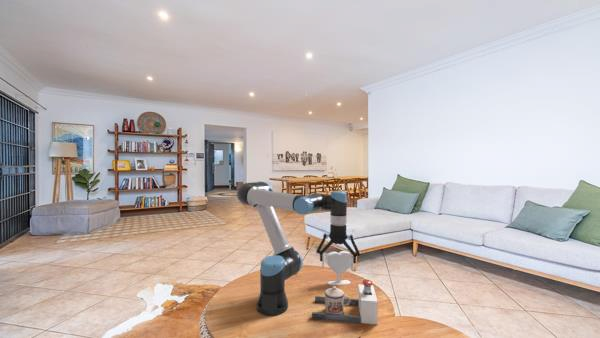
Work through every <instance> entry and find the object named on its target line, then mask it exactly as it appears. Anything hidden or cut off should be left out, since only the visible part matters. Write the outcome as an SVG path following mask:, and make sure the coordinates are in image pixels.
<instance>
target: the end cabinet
mask: <svg viewBox="0 0 600 338" xmlns="http://www.w3.org/2000/svg"><path fill="white" fill-rule="evenodd" d="M357 290H358V295H357V296H358V298H357V299H358V300H359V305H358V311H359V316H361V323H360V324H366V325H367V324H369V325H378V312H379V311H378V309H379V308H378V303H379V302H378V299H377V298H378V297H377V294H376V291H375V288H374V285H373V284H372V285H371V295H364V285H363V284H359V283H358V289H357Z"/></svg>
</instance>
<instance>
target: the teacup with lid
mask: <svg viewBox="0 0 600 338" xmlns="http://www.w3.org/2000/svg"><path fill="white" fill-rule="evenodd" d="M324 297H325V303H324V312H325V313H330V314H342V315H344V307H347V306H350V305H349V303H350V299H351V298H350V297H349V296H348V295H345V292H344V291H343V289H341V288H337V286H336V285H332V287H330V288H329V287H328V288H327V289H326V290H325V291H324ZM344 298H348V302H347V303H346V304H344Z"/></svg>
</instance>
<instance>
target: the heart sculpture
mask: <svg viewBox="0 0 600 338" xmlns="http://www.w3.org/2000/svg"><path fill="white" fill-rule="evenodd" d="M351 261H352V254H351V252H350V251H347V250H341V251H339V252H337V251H330V252H328V253H327V254H325V262H326V264H327V266H328V267H329V269H330V270H332V271H333V272H334V273H336V274H337V277H336V278H337V279H336V280H332V281H330V280H329V281H328V282H327V284H328V285H329V286H336V285H337V286H338V285H350V284H351V281H350V280H348V279H344V280H342V274H344V273H346V272H347V271H348V270H349V269H350V268H351Z"/></svg>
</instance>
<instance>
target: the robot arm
mask: <svg viewBox="0 0 600 338" xmlns="http://www.w3.org/2000/svg"><path fill="white" fill-rule="evenodd" d="M347 195H348V194H347V192H346V191H342V190H332V191H331V192H330V194H323V193H309V195H300V194H299V195H298V194H292V193H287V192H279V191H274V188H273V186H272V185H271V184H270V183H268V182H266V181H255V182H246V183H243V184H241V185H240V186H239V187H237V192H236V197H237V199H238V201H239V202H240V203H242V204H243V205H249V206H253V209H254V210H255V211H256V210H257V213H258V214H259V217H260V219H261V222H262V223H263V227H264V229H265V231H266V234H267V237H268V239H269V242H270V243H271V247H272V249H273V253H272V254H273V255H269V256H267V257H264V258H263V259H261V263H260V269H259V272H260V276H259V277H260V279H259V280H260V281H259V282H260V283H259V284H260V286H259V287H260V292H259V295H258V298H257V301H256V310H257V311H258V313H260V314H262V315H265V316H278V315H280V314H283V313H285V312H286V311H287V310H288V309H289V299H288V297H287V295H286V291H285V284H286V283H285V281H286V280H288V279H290V278H291V277H293V276H295V275H297V274H298V273H299V272H300V271H301V270H302V268H303V263H304V261H303V256H302V255H301V253H300V252H299V251H298V250H295V248H294V246H293V245H290V244H289V242H288V239H287V237H286V234H285V232H284V229H283V226H282V224H281V223H280V220H279V216H278V215H277V212H276V210H275V209H276V208H277V209H281V210H286V211H287V210H288V211H291V212H296V213H297V214H299V215H309V214H311V213H314V212H316V211H330V217H329V219H330V225H329V226H330V227H329V229H330V230H329V234H328V233H326V232H324V233H323V237H322V239H321V240H320V243H319V245H318V247H317V248H316V254H319V261H320V262H321V263H322V264H321V266H322V268H321V269H323V270H324V269H325V252H326V251H327V250H328V249H329V248H330V247H331V245H333V244H334V245H344V246H345V247H346V249H347V250H348V252H349V253H350V254H351V255H352V261H351V266H350V268H351V272H354V264H356V263H357V257H358V256H361V252H360V250H359V248H358V246H357V244H356V242H355V240H354V235H353V234H352V233H351V234H347V225H346V224H347V213H348V212H347V211H348V209H347V207H348V206H347V205H348V196H347ZM328 238H329V239H330V240H329V241H328V242H327V244H325V246H324V247H323V245H324V243H325V241H326V240H327V239H328ZM347 239H349V240H350V242H351V244H352V246H353V248H352V247H351V246H350V244H348V242H347V241H346V240H347ZM322 247H323V248H322ZM353 249H354V250H353Z"/></svg>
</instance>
